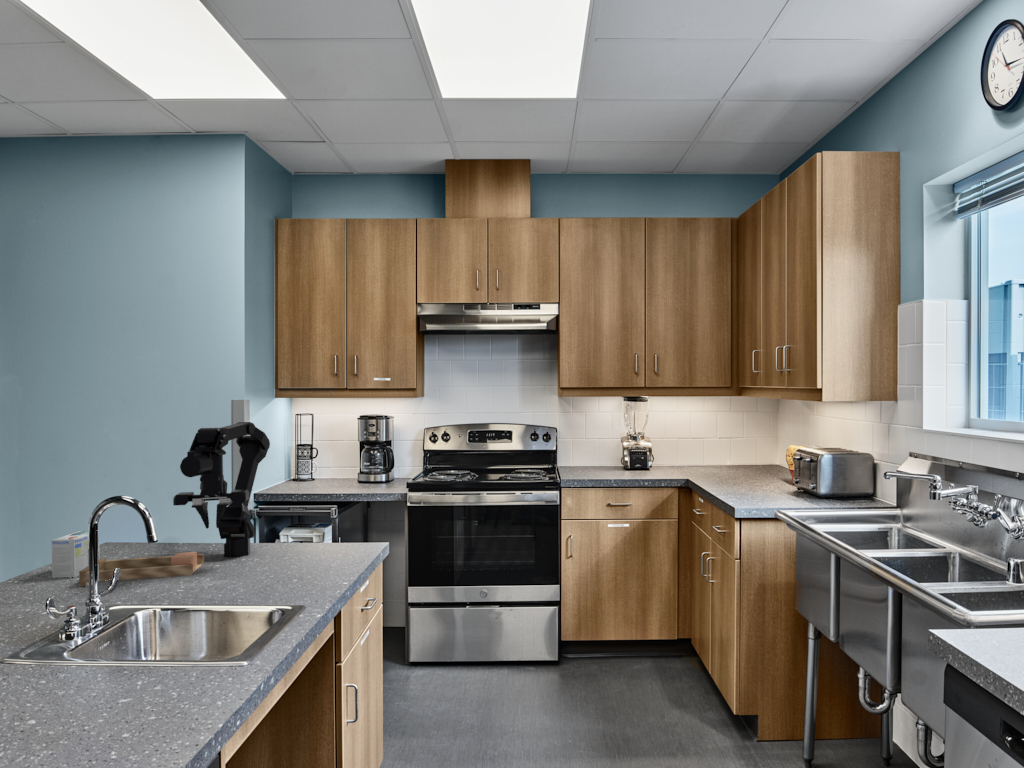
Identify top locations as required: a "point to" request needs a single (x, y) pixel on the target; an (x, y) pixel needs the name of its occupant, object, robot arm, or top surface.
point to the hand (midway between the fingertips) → (212, 527)
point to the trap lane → (140, 568)
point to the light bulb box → (70, 554)
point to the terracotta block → (185, 559)
